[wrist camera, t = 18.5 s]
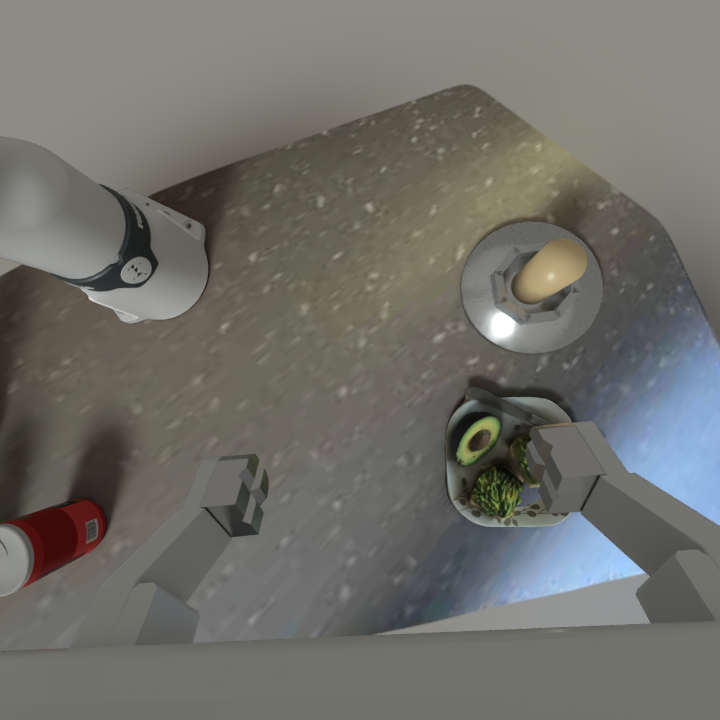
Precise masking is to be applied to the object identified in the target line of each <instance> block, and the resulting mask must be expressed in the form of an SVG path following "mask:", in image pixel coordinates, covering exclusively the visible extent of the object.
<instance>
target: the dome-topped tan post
mask: <svg viewBox="0 0 720 720" xmlns="http://www.w3.org/2000/svg"><path fill="white" fill-rule="evenodd" d="M586 268H587V255H586V253H585V251H584V249H583V248H582V247H581V246H580V245H579V244H578V243H576V242H575V241H572V240H569V239H556V240H553V241H551V242H549V243H547V244H546V245H545V246H544V247H543V248H542V249H541V250H540V251H539V252H538V253H537V254H536V255H535V256H534V257H533V258H532V259H531V260H530V261H529V262H528V263H527V264H526V265H524V266H523V267H522V268H521V269H520V270H519V271H518V272H517V273H516V274H515V276H514V277H513V279H512V281H511V291H512V294H513V295H514V297H515V298H516V299H517V300H518V301H520V302H521V303H524V304H528V305H533V304H537V303H540V302H542V301H543V300H545V299H546V298H548V297H550V296H551V295H553V294H555V293H556V292H558V291H560V290H561V289H563V288H564V287H566V286H568V285H569V284H571V283H573V282H574V281H576V280H577V279H579V278H580V277H581V276H582V275H583V274H584V272H585V270H586Z"/></svg>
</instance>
